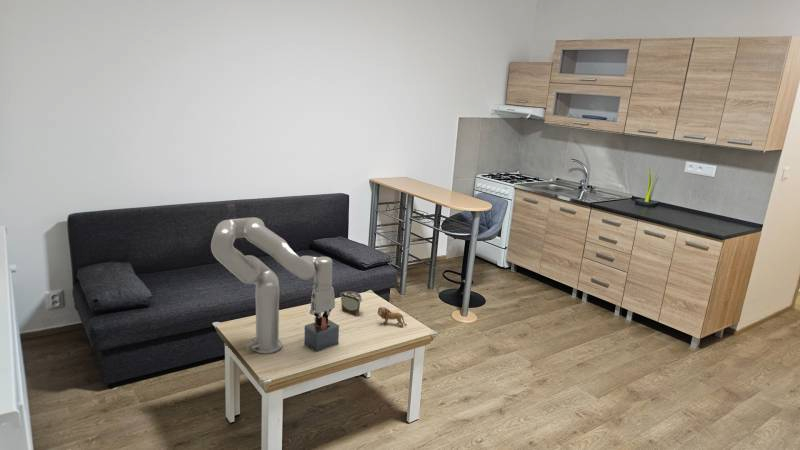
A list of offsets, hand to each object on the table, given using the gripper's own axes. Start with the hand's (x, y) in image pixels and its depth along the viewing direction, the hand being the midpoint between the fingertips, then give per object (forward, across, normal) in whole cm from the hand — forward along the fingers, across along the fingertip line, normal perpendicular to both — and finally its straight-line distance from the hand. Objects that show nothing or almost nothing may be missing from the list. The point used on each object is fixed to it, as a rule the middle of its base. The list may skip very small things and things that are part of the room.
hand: (321, 323), depth 232 cm
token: (+3, 0, 0) cm, 3 cm away
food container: (+10, +33, +18) cm, 39 cm away
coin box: (+10, 0, 0) cm, 10 cm away
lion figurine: (+10, +38, -5) cm, 40 cm away
